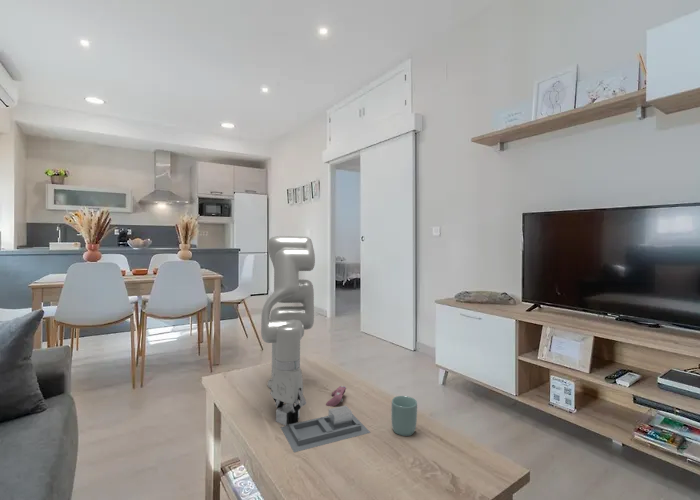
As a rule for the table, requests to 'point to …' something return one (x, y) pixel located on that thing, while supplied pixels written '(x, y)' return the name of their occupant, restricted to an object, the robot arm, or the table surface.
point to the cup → (404, 415)
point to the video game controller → (336, 396)
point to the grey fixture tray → (319, 433)
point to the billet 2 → (340, 417)
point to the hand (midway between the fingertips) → (287, 420)
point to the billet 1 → (284, 414)
